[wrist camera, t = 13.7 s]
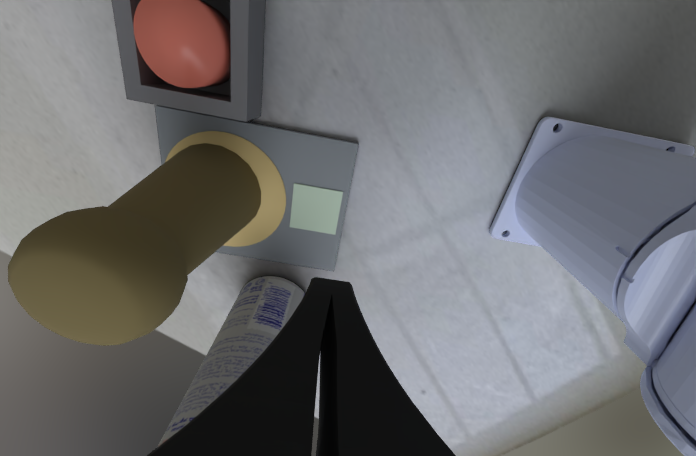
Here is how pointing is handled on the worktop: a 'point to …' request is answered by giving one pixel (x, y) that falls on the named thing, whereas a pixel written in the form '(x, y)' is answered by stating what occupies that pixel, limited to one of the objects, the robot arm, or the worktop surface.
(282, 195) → the grey kitchen scale
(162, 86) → the button housing
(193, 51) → the button
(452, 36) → the worktop surface
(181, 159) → the olive knobbed peg
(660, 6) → the worktop surface
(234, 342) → the beverage can
